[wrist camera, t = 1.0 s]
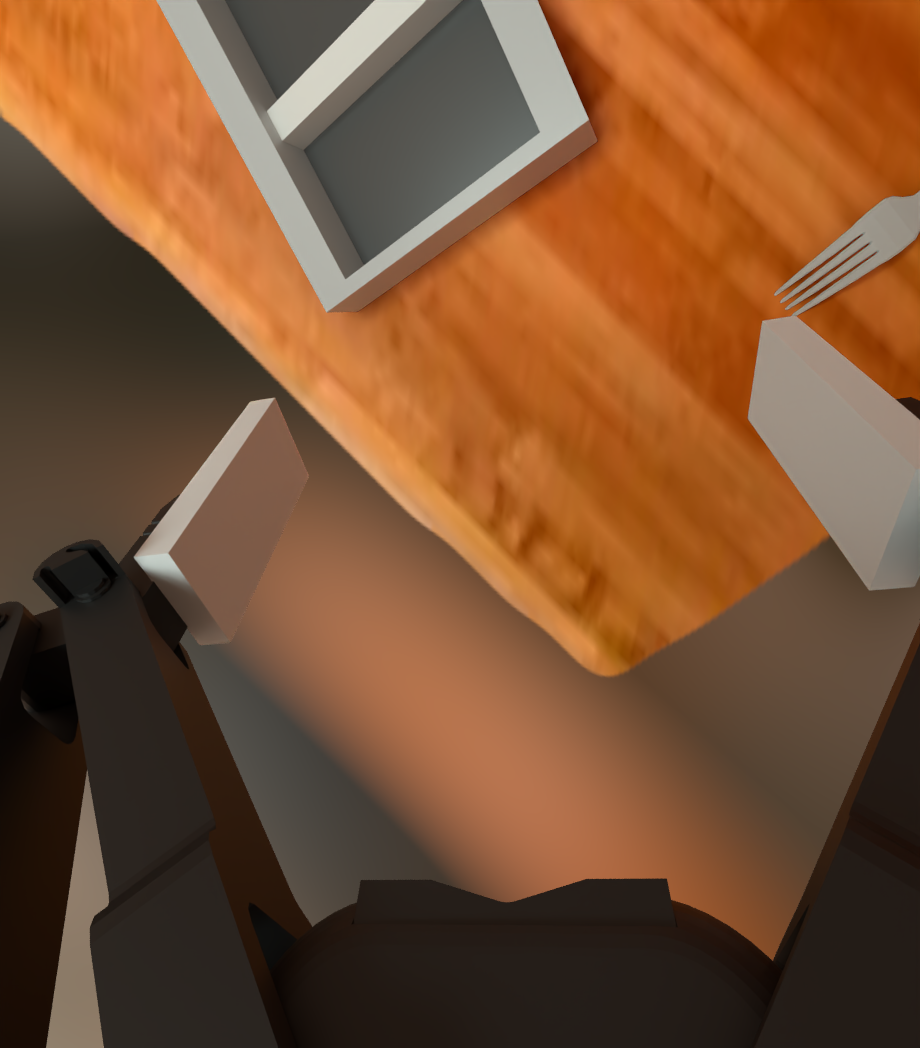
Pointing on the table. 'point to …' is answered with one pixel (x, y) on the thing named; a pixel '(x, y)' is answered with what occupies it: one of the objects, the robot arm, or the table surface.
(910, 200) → the fork
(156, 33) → the table surface
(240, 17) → the track
